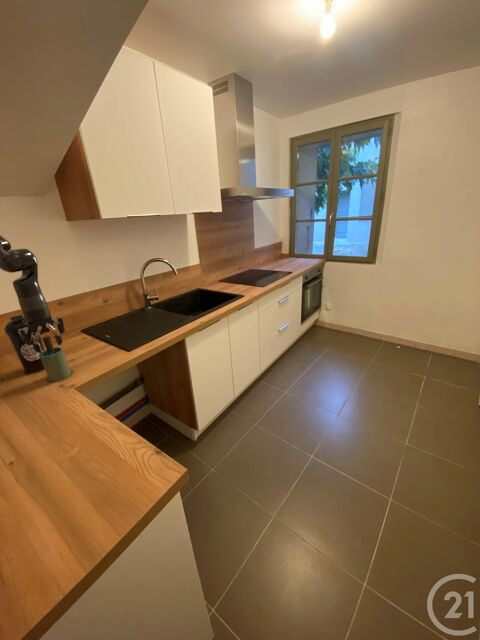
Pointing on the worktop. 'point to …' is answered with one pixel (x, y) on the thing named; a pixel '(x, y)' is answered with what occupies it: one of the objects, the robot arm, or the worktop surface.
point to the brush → (48, 345)
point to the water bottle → (24, 345)
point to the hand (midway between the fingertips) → (49, 348)
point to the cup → (55, 364)
